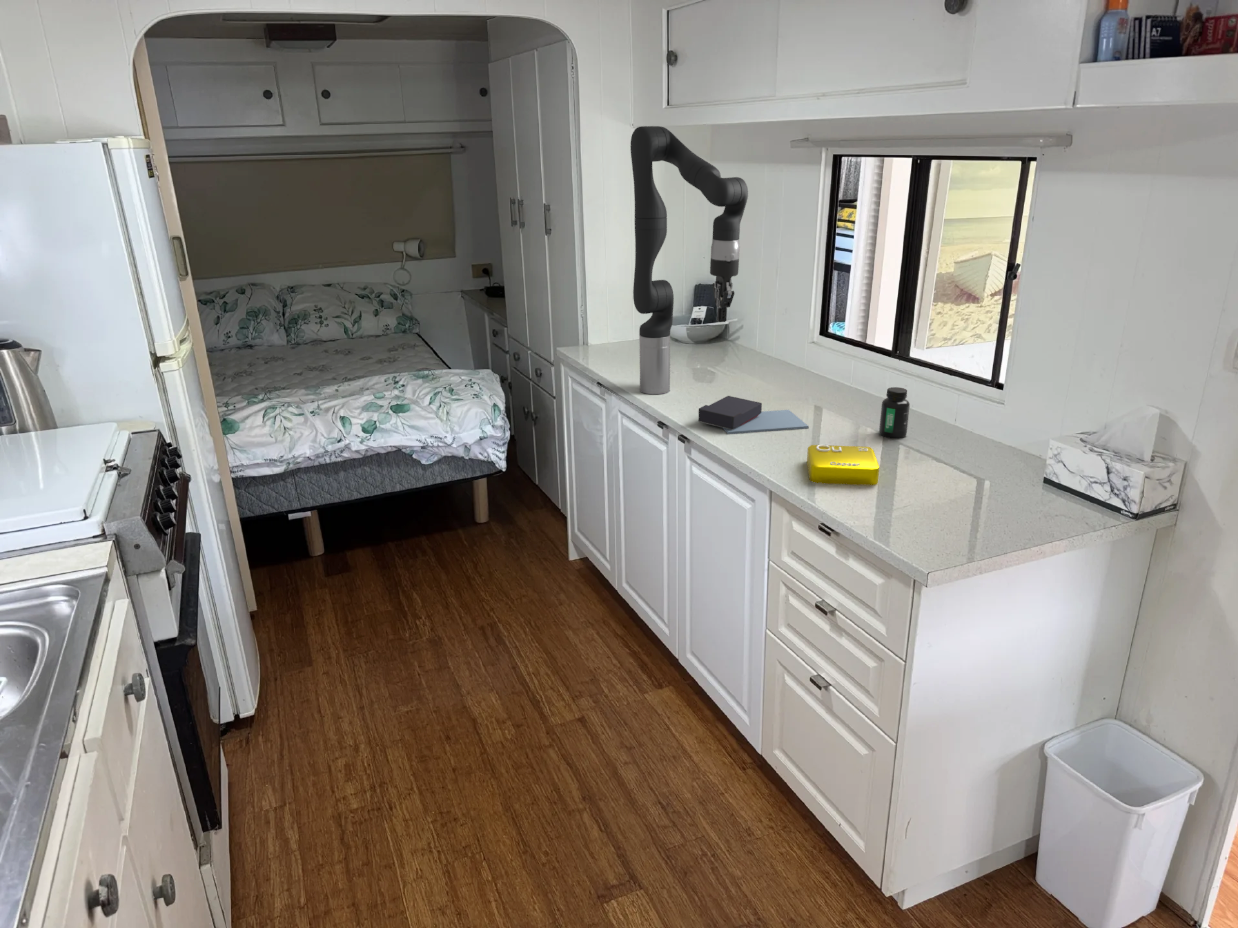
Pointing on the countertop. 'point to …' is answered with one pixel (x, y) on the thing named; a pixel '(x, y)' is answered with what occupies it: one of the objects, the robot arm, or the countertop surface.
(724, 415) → the dark grey boxy piece
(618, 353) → the countertop surface
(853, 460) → the element tile
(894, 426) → the supplement bottle
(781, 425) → the mat
